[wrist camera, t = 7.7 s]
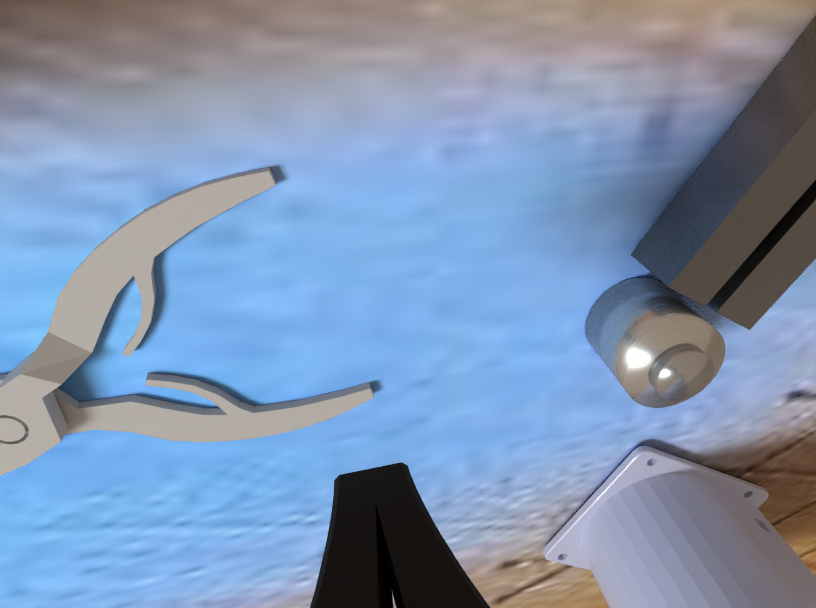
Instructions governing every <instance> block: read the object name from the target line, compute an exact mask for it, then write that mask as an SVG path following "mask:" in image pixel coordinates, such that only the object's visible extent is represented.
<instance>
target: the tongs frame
mask: <svg viewBox="0 0 816 608" xmlns="http://www.w3.org/2000/svg"><path fill="white" fill-rule="evenodd" d="M815 258H816V180H815V181H814V182H813V183H812V184H811V185H810V187H809V188H808V189H807V190H806V191H805V192H804V193H803V195H802V196H801V197H800V198H799V199H798V200H797V201H796V203H795V204H794V205H793V206H792V207H791V208H790V210H789V211H788V212H787V213H786V214H785V215H784V216H783V218H782V219H781V220H780V221H779V222H778V223H777V224H776V226H775V227H774V228H773V229H772V230H771V231H770V232H769V234H768V235H767V236H766V237H765V238H764V239H763V240H762V242H761V243H760V244H759V245H758V246H757V247H756V248H755V250H754V251H753V252H752V253H751V254H750V255H749V257H748V258H747V259H746V260H745V261H744V262H743V263H742V265H741V266H740V267H739V268H738V269H737V270H736V271H735V273H734V274H733V275H732V276H731V277H730V278H729V279H728V281H727V282H726V283H725V284H724V285H723V286H722V287H721V289H720V290H719V291H718V292H717V293H716V294H715V295H714V297H713V298H712V299H711V300H710V301H709V302H708V304H707V305H708V306H709V307H710V308H712V309H713V310H714V311H715V312H716V313H718V314H720V315H722V316H724V317H726V318H728V319H730V320H732V321H734V322H736V323H737V324H739V325H741V326H743V327H745V328H747V329H749V330H750V329H751V328H752V327H753V326H754V325H755V324H756V322H757V321H758V320H759V319H760V318H761V317H762V316H763V315H764V314H765V313H766V312H767V310H768V309H769V308H770V307H771V306H772V305H773V304H774V303H775V302H776V301H777V300H778V299H779V297H780V296H781V295H782V294H783V293H784V292H785V291H786V290H787V289H788V288H789V287H790V286H791V284H792V283H793V282H794V281H795V280H796V279H797V278H798V277H799V276H800V275H801V274H802V273H803V271H804V270H805V269H806V268H807V267H808V266H809V265H810V264H811V263H812V262H813V261H814V260H815ZM585 334H586V338H587V340H588V342H589V344H590V345H591V346H592V348H593V349H594V350H595V352H596V353H597V354H598V355H599V357H600V358H601V359H602V361H603V362H604V363H605V364H606V366H607V367H608V368H609V370H610V371H611V372H612V373H613V375H614V376H615V377H616V379H617V380H618V381H619V382H620V384H621V385H622V386H623V388H624V389H625V390H626V391H627V393H628V394H629V395H630V397H631V398H632V399H633V400H634V401H636V402H637V403H639V404H641V405H643V406H646V407H652V408H661V407H668V406H672V405H676V404H678V403H681V402H683V401H685V400H687V399H689V398H691V397H693V396H694V395H696V394H698V393H699V392H700V391H702V390H703V389H704V388H705V387H706V386H707V385H708V384H709V383H710V382H711V381H712V379H713V378H714V377H715V376H716V374H717V373H718V371H719V369H720V367H721V365H722V363H723V360H724V356H725V343H724V340H723V337H722V336H721V334H720V333H719V332H718V331H717V330H716V329H715V328H714V327H713V326H711V325H710V324H709V323H708V322H707V321H706V320H704V319H703V318H702V317H701V316H700V315H699V314H698V313H696V312H695V311H694V310H693V309H692V308H691V307H690V306H688V305H687V304H686V303H685V302H684V301H683V300H682V299H680V298H679V297H678V296H677V295H676V294H675V293H673V292H672V291H671V290H670V289H669V288H668V287H667V286H665V285H664V284H663V283H662V282H660V281H658V280H656V279H653V278H648V277H637V278H632V279H628V280H625V281H622V282H620V283H618V284H616V285H614V286H613V287H611V288H610V289H608V290H607V291H606V292H604V293H603V294H602V295H601V296H600V297H599V298H598V299H597V301H596V302H595V303H594V305H593V306H592V308H591V309H590V311H589V313H588V316H587V319H586V324H585Z"/></svg>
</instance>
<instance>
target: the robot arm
mask: <svg viewBox="0 0 816 608" xmlns="http://www.w3.org/2000/svg"><path fill="white" fill-rule="evenodd" d="M768 496H769V494H768V492H767V491H766V490H765V489H764V488H763V487H761V486H758V485H755V484H752V483H750V482H747V481H744V480H741V479H738V478H735V477H733V476H730V475H727V474H724V473H721V472H719V471H716V470H713V469H710V468H707V467H705V466H702V465H699V464H696V463H693V462H691V461H688V460H685V459H682V458H679V457H676V456H674V455H671V454H668V453H665V452H662V451H660V450H657V449H654V448H651V447H648V446H640V447H638V448H636V449H635V450H633V451H632V453H631V454H630V455H629V456H628V457H627V458H626V459H625V460H624V461H623V462H622V463H621V465H620V466H619V467H618V468H617V469H616V470H615V471H614V472H613V473H612V474H611V475H610V477H609V478H608V479H607V480H606V481H605V482H604V483H603V484H602V485H601V486H600V487H599V489H598V490H597V491H596V492H595V493H594V494H593V495H592V496H591V497H590V498H589V499H588V501H587V502H586V503H585V504H584V505H583V506H582V507H581V508H580V509H579V510H578V511H577V513H576V514H575V515H574V516H573V517H572V518H571V519H570V520H569V521H568V522H567V523H566V524H565V526H564V527H563V528H562V529H561V530H560V531H559V532H558V533H557V534H556V535H555V536H554V538H553V539H552V540H551V541H550V542H549V543H548V544H547V545H546V546H545V548H544V549H543V553H544V556H545V558H546V559H547V560H549V561H553V562H558V563H562V564H567V565H571V566H576V567H580V568H585V569H589V570H591V571H592V573H593V575H594V577H595V579H596V581H597V583H598V585H599V587H600V589H601V591H602V593H603V595H604V597H605V599H606V601H607V603H608V606H609V608H816V576H815V575H814V574H813V573H812V572H811V570H810V569H809V568H808V567H807V566H806V565H805V563H804V562H803V561H802V560H801V559H800V557H799V556H798V555H797V554H796V553H795V552H794V550H793V549H792V548H791V547H790V546H789V545H788V543H787V542H786V541H785V540H784V539H783V538H782V536H781V535H780V534H779V533H778V532H777V530H776V529H775V528H774V527H773V526H772V525H771V523H770V522H769V521H768V520H767V519H766V518H765V516H764V515H763V514H762V513H761V512H760V511H759V509H758V507H759V506H761V505H762V504H763V503H764V502H765V501H766V500H767V499H768ZM392 592H393V596H394V600H395V604H396V608H490V607H489V605H488V604H487V603H486V601H485V600H484V599H483V597H482V596H481V594H480V593H479V591H478V590H477V589H476V587H475V586H474V584H473V583H472V582H471V580H470V579H469V577H468V576H467V574H466V573H465V571H464V570H463V568H462V567H461V566H460V564H459V563H458V561H457V559H456V558H455V556H454V555H453V553H452V551H451V550H450V548H449V547H448V545H447V543H446V542H445V540H444V539H443V537H442V535H441V534H440V532H439V530H438V529H437V527H436V525H435V524H434V522H433V520H432V518H431V516H430V514H429V513H428V511H427V509H426V507H425V505H424V503H423V501H422V499H421V497H420V495H419V493H418V491H417V489H416V487H415V484H414V482H413V479H412V477H411V474H410V472H409V468H408V466H407V465H405V464H404V463H402V462H401V463H396V464H392V465H387V466H382V467H377V468H372V469H367V470H362V471H357V472H352V473H347V474H342V475H339V476H338V477H337V478H336V479H335V480H334V497H333V507H332V514H331V520H330V526H329V531H328V537H327V542H326V547H325V551H324V555H323V560H322V564H321V568H320V573H319V577H318V581H317V585H316V589H315V593H314V596H313V600H312V603H311V606H310V608H393V599H392Z"/></svg>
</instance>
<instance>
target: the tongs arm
mask: <svg viewBox="0 0 816 608" xmlns="http://www.w3.org/2000/svg"><path fill="white" fill-rule="evenodd" d="M815 180H816V17H815V18H814V19H813V21H812V22H811V23H810V24H809V26H808V27H807V28H806V30H805V31H804V32H803V34H802V35H801V36H800V37H799V39H798V40H797V41H796V43H795V44H794V45H793V46H792V48H791V49H790V50H789V52H788V53H787V54H786V55H785V57H784V58H783V59H782V61H781V62H780V63H779V64H778V66H777V67H776V68H775V70H774V71H773V72H772V73H771V75H770V76H769V77H768V79H767V80H766V81H765V82H764V84H763V85H762V86H761V88H760V89H759V90H758V91H757V93H756V94H755V95H754V97H753V98H752V99H751V100H750V102H749V103H748V104H747V106H746V107H745V108H744V109H743V111H742V112H741V113H740V115H739V116H738V117H737V119H736V120H735V121H734V122H733V124H732V125H731V126H730V128H729V129H728V130H727V131H726V133H725V134H724V135H723V137H722V138H721V139H720V140H719V142H718V143H717V144H716V146H715V147H714V148H713V149H712V151H711V152H710V153H709V155H708V156H707V157H706V158H705V160H704V161H703V162H702V164H701V165H700V166H699V167H698V169H697V170H696V171H695V173H694V174H693V175H692V176H691V178H690V179H689V180H688V182H687V183H686V184H685V185H684V187H683V188H682V189H681V191H680V192H679V193H678V195H677V196H676V197H675V198H674V200H673V201H672V202H671V204H670V205H669V206H668V207H667V209H666V210H665V211H664V213H663V214H662V215H661V216H660V218H659V219H658V220H657V222H656V223H655V224H654V225H653V227H652V228H651V229H650V231H649V232H648V233H647V234H646V236H645V237H644V238H643V240H642V241H641V242H640V243H639V245H638V246H637V247H636V249H635V250H634V251H633V252H632V254H631V255H632V256H633V257H634V258H635V259H637V260H638V261H639V262H640V263H641V264H642V265H643V266H645V267H646V268H647V269H648V270H649V271H650V272H651V273H653V274H654V275H655V276H656V277H657V278H658V279H660V280H661V281H662V282H663V283H664V284H665V285H666V286H668V287H669V288H671V289H673V290H675V291H677V292H678V293H680V294H682V295H684V296H686V297H688V298H690V299H692V300H694V301H695V302H697V303H699V304H701V305H703V306H706V305H707V304H708V302H709V301H710V300H711V299H712V298H713V297H714V295H715V294H716V293H717V292H718V291H719V290H720V289H721V287H722V286H723V285H724V284H725V283H726V282H727V281H728V279H729V278H730V277H731V276H732V275H733V274H734V273H735V271H736V270H737V269H738V268H739V267H740V266H741V265H742V263H743V262H744V261H745V260H746V259H747V258H748V257H749V255H750V254H751V253H752V252H753V251H754V250H755V248H756V247H757V246H758V245H759V244H760V243H761V242H762V240H763V239H764V238H765V237H766V236H767V235H768V234H769V232H770V231H771V230H772V229H773V228H774V227H775V226H776V224H777V223H778V222H779V221H780V220H781V219H782V218H783V216H784V215H785V214H786V213H787V212H788V211H789V210H790V208H791V207H792V206H793V205H794V204H795V203H796V201H797V200H798V199H799V198H800V197H801V196H802V195H803V193H804V192H805V191H806V190H807V189H808V188H809V187H810V185H811V184H812V183H813V182H814V181H815Z"/></svg>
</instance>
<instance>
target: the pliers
mask: <svg viewBox="0 0 816 608" xmlns="http://www.w3.org/2000/svg"><path fill="white" fill-rule="evenodd" d="M274 186H276V180H275V178H274V176H273V174H272V172H271V170H270V167H268V168H263V169H258V170H253V171H248V172H243V173H237V174H233V175H230V176H226V177H222V178H218V179H214V180H210V181H207V182H203V183H201V184H198V185H196V186H194V187H191V188H189V189H186V190H184V191H181V192H179V193H176V194H174V195H172V196H170V197H168V198H166V199H164V200H162V201H160V202H158V203H157V204H155V205H153V206H151V207H149V208H147V209H145V210H144V211H142V212H141V213H139V214H138V215H136V216H135V217H134V218H132V219H131V220H129V221H128V222H126V223H125V224H124V225H122V226H121V227H119V228H118V229H117V230H116V231H115V232H113V233H112V234H111V235H110V236H109V237H108V238H106V239H105V240H104V241H103V242H102V243H100V244H99V245H98V246H97V247H96V248H95V249H94V250H93V251H92V252H91V253H90V255H89V256H88V257H87V258H86V259H85V260H84V261H83V262H82V263H81V264H80V265H79V266H78V267H77V269H76V270H75V272H74V273H73V275H72V276H71V278H70V279H69V281H68V282H67V284H66V286H65V287H64V289H63V290H62V292H61V293H60V295H59V297H58V299H57V302H56V306H55V309H54V313H53V316H52V320H51V324H50V327H49V331H48V333H47V334H46V336H45V337H44V339H43V340H42V342H41V343H40V345H39V346H38V348H37V349H36V351H35V352H33V353H32V354H30V355H29V356H27V357H26V358H25V359H24V360H23V361H22V362H21V363H20V364H19V365H17V366H16V367H15V368H14V369H13V370H12V371H11V372H10V373H5V374H0V475H3V474H5V473H8V472H10V471H12V470H15V469H17V468H19V467H22V466H24V465H27V464H28V463H30V462H31V461H33V460H34V459H36V458H37V457H39V456H40V455H42V454H43V453H45V452H46V451H47V450H49V449H50V448H52V447H53V446H55V445H56V444H58V443H59V442H61V440H62V438H63V436H64V434H70V433H76V432H83V431H89V430H109V431H125V432H134V433H138V434H143V435H148V436H152V437H157V438H162V439H166V440H174V441H190V442H216V441H233V440H242V439H251V438H258V437H264V436H270V435H276V434H281V433H285V432H288V431H292V430H296V429H300V428H304V427H307V426H310V425H313V424H316V423H319V422H322V421H325V420H328V419H330V418H333V417H335V416H337V415H339V414H342V413H344V412H346V411H348V410H351V409H353V408H355V407H357V406H358V405H360V404H362V403H364V402H366V401H368V400H370V399H372V398H374V394H373V390H372V388H371V386H370V383H369V382H368V383H364V384H361V385H357V386H354V387H350V388H347V389H343V390H339V391H335V392H330V393H326V394H322V395H318V396H314V397H309V398H305V399H300V400H295V401H288V402H282V403H275V404H267V405H260V406H252V405H249V404H246V403H244V402H241V401H239V400H237V399H235V398H234V397H232V396H231V395H229V394H228V393H226V392H224V391H223V390H221V389H220V388H217V387H215V386H212V385H209V384H207V383H204V382H202V381H199V380H197V379H192V378H186V377H180V376H175V375H165V374H153V373H148V375H147V378H146V385H147V386H157V387H167V388H173V389H178V390H184V391H189V392H192V393H195V394H197V395H199V396H202V397H204V398H206V399H209V400H211V401H213V402H214V403H215V404H216V405H217V406H218V407H219V408H200V407H194V406H188V405H182V404H176V403H171V402H166V401H162V400H157V399H152V398H147V397H142V396H137V395H127V396H120V397H113V398H105V399H98V400H91V401H84V402H79V401H77V400H76V399H74V398H73V397H71V396H70V395H68V394H67V393H65V392H64V391H62V390H61V389H59V388H58V387H59V386H60V385H62V384H63V383H64V382H65V380H66V379H67V378H68V377H69V376H70V375H71V374H72V373H73V372H74V371H75V370H76V369H77V368H78V367H79V366H80V365H81V364H82V363H83V362H84V361H85V360H86V359H87V358H88V357H89V356H90V355H91V353H92V352H93V350H94V348H95V346H96V344H97V341H98V338H99V336H100V333H101V331H102V328H103V326H104V323H105V321H106V318H107V315H108V313H109V311H110V309H111V306H112V304H113V302H114V300H115V298H116V296H117V294H118V293H119V292H120V290H121V289H122V288H123V287H124V286H125V285H126V284H127V282H128V281H129V280H130V279H131V278H132V277H133V275H134V278H135V281H136V283H137V286H138V289H139V291H140V294H141V297H142V312H141V321H140V323H139V325H138V327H137V329H136V331H135V333H134V334H133V336H132V337H131V339H130V340H129V342H128V343H127V345H126V346H125V348H124V350H123V352H122V354H124V355H126V356H128V357H130V355H131V354H132V352H133V351H134V350H135V348H136V347H137V346H138V344H139V343H140V342H141V340H142V338H143V336H144V334H145V332H146V331H147V329H148V327H149V325H150V323H151V320H152V318H153V313H154V307H155V301H156V286H155V278H154V270H153V268H154V263H155V257H156V256H157V255H158V254H159V253H161V252H162V251H163V250H165V249H166V248H167V247H169V246H170V245H171V244H173V243H174V242H175V241H177V240H178V239H180V238H181V237H183V236H184V235H185V234H187V233H188V232H190V231H191V230H193V229H194V228H195V227H197V226H199V225H201V224H202V223H204V222H206V221H208V220H210V219H211V218H213V217H215V216H217V215H219V214H220V213H222V212H224V211H226V210H228V209H230V208H232V207H233V206H235V205H237V204H239V203H241V202H243V201H244V200H246V199H248V198H251V197H253V196H255V195H257V194H259V193H261V192H263V191H265V190H268V189H270V188H272V187H274Z"/></svg>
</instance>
